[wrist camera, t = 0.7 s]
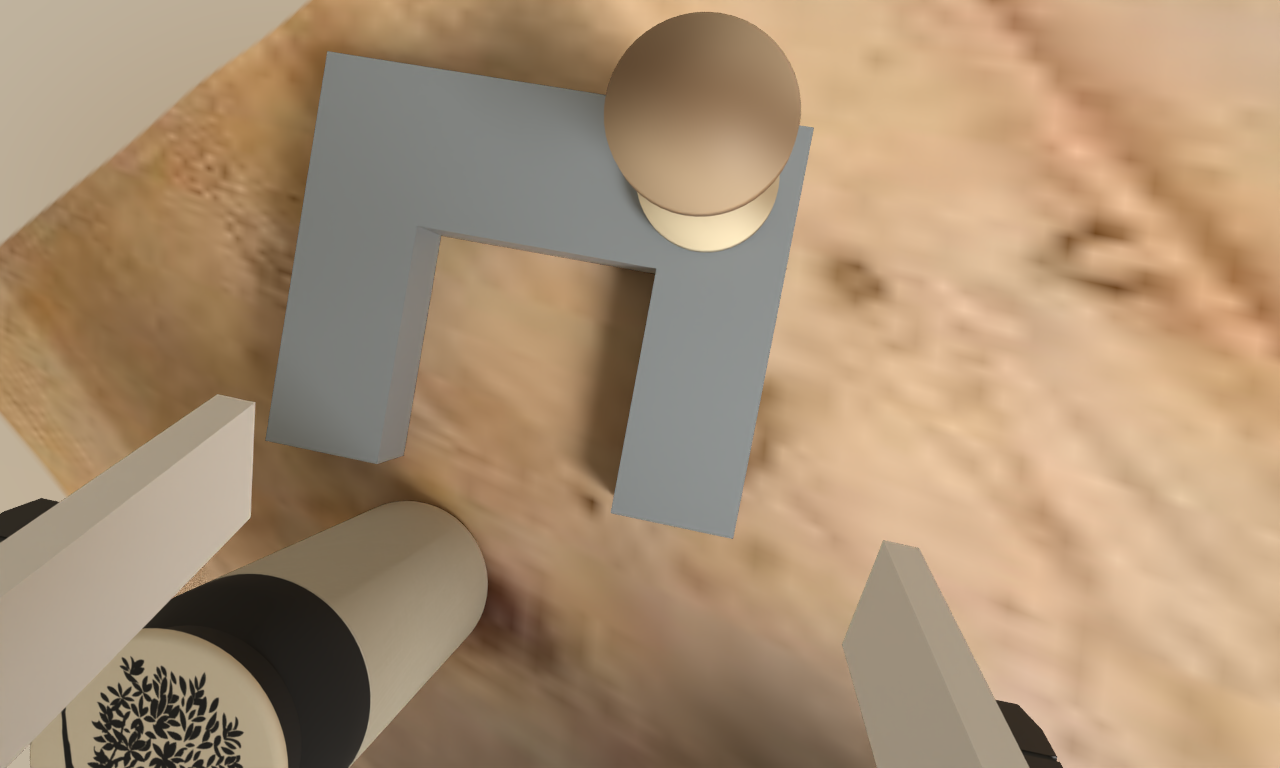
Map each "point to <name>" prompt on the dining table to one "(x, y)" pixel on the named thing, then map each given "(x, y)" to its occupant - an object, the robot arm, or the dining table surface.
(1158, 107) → the dining table surface
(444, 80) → the notched board
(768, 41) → the birch bobbin
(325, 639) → the travel mug
